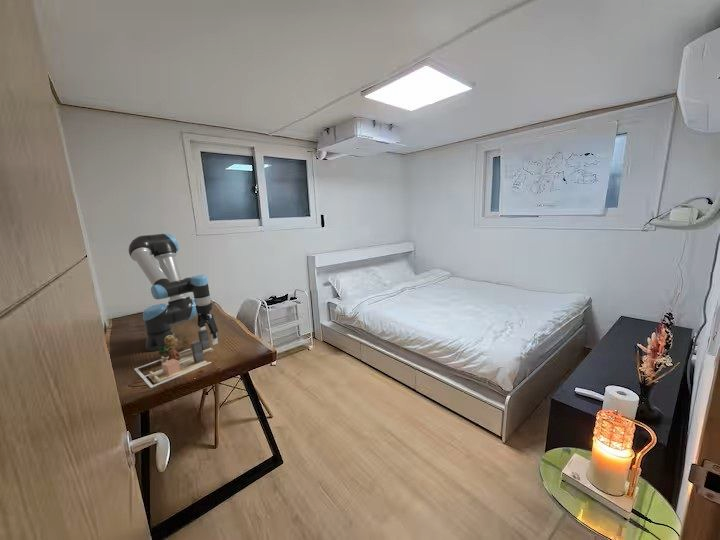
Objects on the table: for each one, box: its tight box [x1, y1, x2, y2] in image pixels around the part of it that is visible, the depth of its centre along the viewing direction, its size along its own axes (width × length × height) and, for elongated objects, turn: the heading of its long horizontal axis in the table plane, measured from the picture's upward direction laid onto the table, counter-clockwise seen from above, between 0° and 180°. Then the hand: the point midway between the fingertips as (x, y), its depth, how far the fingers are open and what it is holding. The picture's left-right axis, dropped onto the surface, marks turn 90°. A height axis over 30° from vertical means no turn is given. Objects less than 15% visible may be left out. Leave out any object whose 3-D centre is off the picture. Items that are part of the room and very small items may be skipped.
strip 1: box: [160, 329, 215, 364], centre depth 150 cm, size 11×22×11 cm, turn 140°
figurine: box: [157, 333, 181, 361], centre depth 143 cm, size 9×8×15 cm
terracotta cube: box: [161, 359, 181, 376], centre depth 134 cm, size 5×5×5 cm
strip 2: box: [147, 339, 209, 385], centre depth 136 cm, size 11×22×11 cm, turn 140°
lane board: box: [133, 348, 212, 389], centre depth 140 cm, size 27×25×1 cm
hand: (209, 340), depth 159 cm, fingers open, 13 cm apart
